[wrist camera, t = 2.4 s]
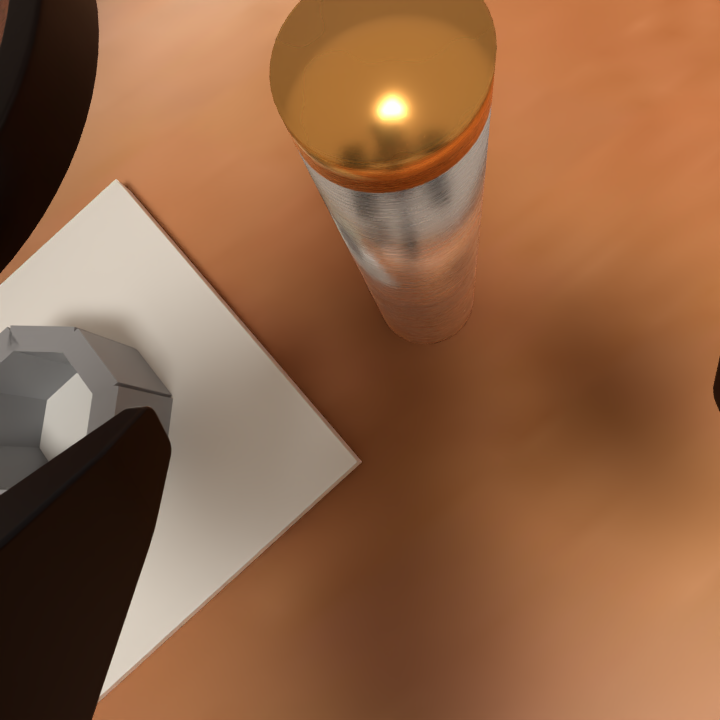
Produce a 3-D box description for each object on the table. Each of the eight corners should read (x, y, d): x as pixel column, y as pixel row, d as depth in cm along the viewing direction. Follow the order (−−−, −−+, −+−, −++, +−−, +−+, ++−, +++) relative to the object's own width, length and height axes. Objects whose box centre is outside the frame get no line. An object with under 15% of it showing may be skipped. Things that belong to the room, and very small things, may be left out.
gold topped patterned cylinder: (493, 299, 21) (548, 43, 8) (423, 363, 21) (370, 207, 8) (428, 237, 22) (387, -81, 9) (361, 298, 22) (227, 67, 9)
